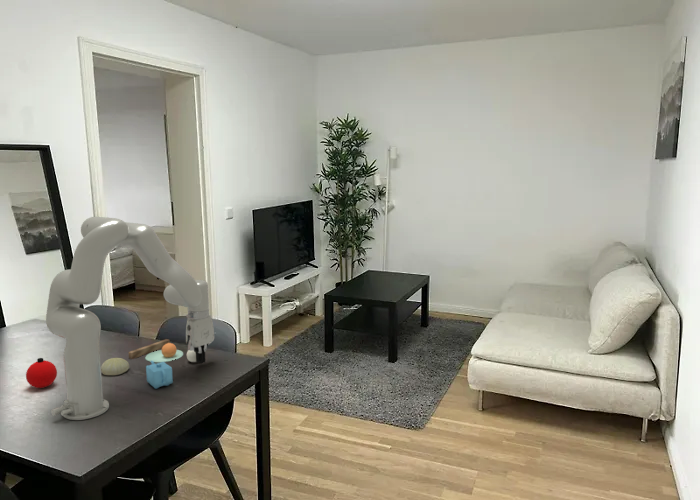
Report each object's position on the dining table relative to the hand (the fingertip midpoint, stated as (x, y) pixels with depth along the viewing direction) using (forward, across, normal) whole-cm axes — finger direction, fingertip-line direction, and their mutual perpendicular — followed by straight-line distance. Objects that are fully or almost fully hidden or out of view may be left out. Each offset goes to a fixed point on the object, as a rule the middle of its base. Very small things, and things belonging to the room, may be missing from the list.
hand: (200, 361), depth 196 cm
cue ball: (-1, +2, +5) cm, 6 cm away
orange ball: (-1, 0, +17) cm, 17 cm away
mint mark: (+2, 0, +20) cm, 20 cm away
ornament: (+2, -41, +31) cm, 51 cm away
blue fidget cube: (+2, -19, 0) cm, 19 cm away
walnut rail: (+2, 0, +28) cm, 29 cm away
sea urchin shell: (+2, -20, +22) cm, 30 cm away
